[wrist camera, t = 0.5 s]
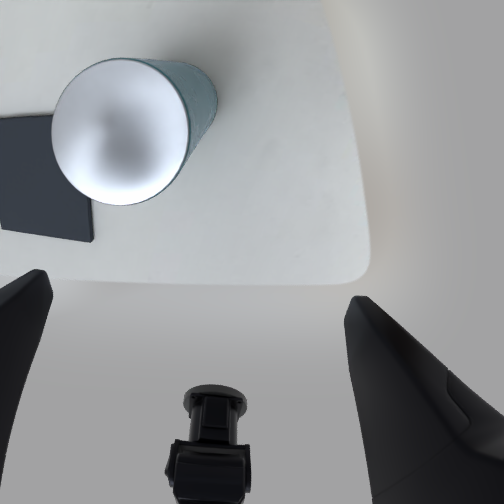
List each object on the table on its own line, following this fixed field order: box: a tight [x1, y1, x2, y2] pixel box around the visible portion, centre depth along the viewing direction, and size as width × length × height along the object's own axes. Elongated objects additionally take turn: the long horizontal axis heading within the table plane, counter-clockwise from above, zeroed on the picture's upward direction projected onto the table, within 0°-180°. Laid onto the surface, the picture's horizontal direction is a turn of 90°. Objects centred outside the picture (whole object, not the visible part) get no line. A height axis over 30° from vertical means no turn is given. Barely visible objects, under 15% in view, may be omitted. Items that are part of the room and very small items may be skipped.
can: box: [51, 58, 217, 206], centre depth 14 cm, size 6×6×10 cm
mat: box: [0, 115, 93, 243], centre depth 20 cm, size 10×10×1 cm
